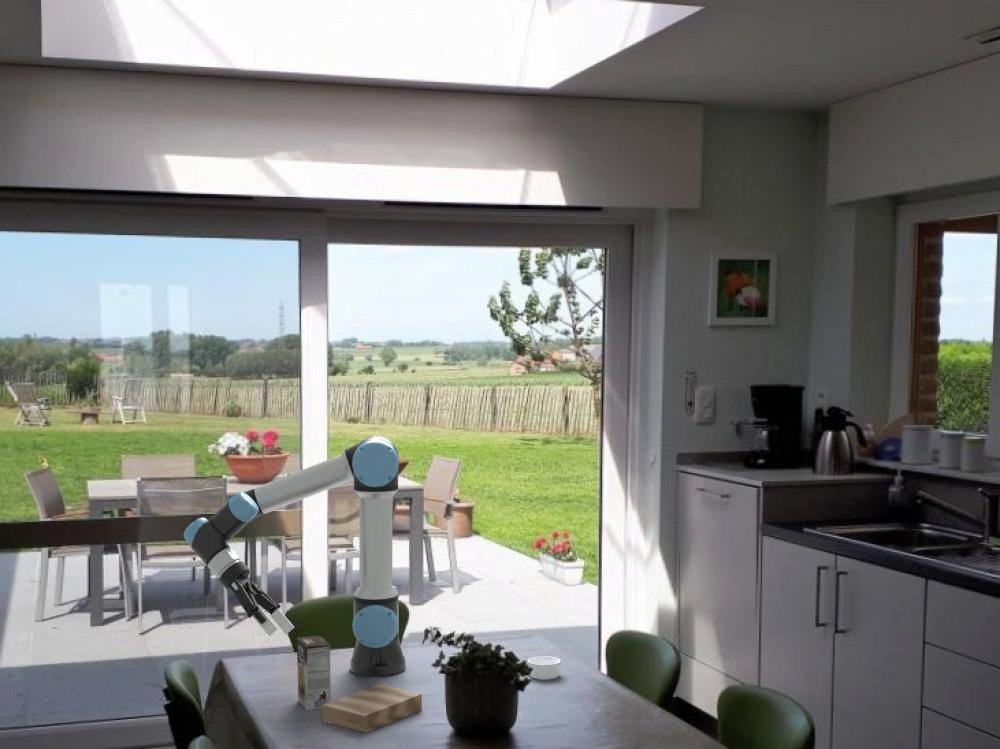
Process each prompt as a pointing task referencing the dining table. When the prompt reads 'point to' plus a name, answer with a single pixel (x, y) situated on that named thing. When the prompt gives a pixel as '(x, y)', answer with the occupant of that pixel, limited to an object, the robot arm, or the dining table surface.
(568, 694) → the dining table surface
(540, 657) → the ramekin
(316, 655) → the coffee box
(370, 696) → the riser
